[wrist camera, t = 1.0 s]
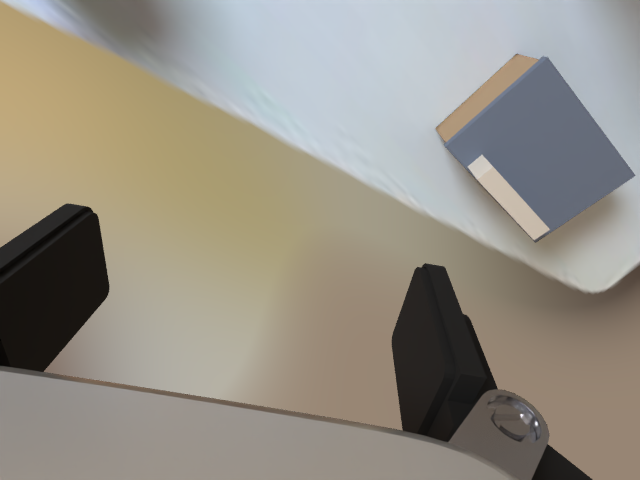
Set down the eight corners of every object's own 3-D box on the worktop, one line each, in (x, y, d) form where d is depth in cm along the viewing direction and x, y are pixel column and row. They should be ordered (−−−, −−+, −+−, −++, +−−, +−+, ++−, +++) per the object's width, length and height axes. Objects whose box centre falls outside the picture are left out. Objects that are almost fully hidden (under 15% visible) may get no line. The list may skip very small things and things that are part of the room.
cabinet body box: (516, 53, 34) (540, 59, 30) (593, 153, 38) (624, 171, 34) (435, 128, 38) (446, 143, 33) (512, 211, 42) (531, 234, 37)
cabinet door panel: (543, 56, 29) (567, 61, 26) (629, 172, 33) (659, 189, 30) (443, 144, 33) (453, 158, 30) (531, 238, 37) (549, 260, 34)
